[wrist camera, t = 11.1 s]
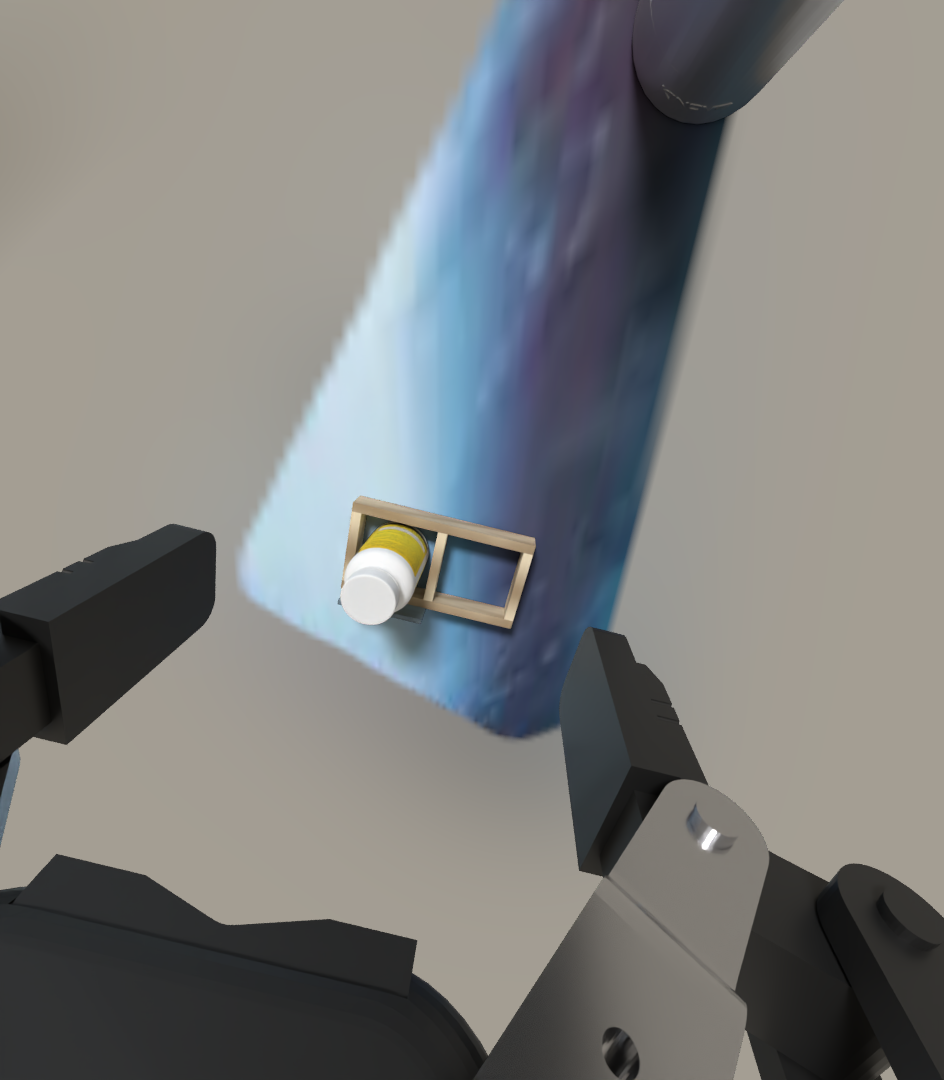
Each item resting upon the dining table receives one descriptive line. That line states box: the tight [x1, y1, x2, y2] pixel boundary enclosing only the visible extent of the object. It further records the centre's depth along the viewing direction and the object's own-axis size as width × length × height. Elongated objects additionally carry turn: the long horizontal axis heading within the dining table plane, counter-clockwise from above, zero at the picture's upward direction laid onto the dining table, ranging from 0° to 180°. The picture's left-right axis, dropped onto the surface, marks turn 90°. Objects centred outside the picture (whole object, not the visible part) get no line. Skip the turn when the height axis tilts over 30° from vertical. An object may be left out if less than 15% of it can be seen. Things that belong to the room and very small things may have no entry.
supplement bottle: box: [340, 521, 429, 625], centre depth 37 cm, size 5×5×10 cm
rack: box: [338, 496, 536, 629], centre depth 40 cm, size 8×15×4 cm, turn 77°
